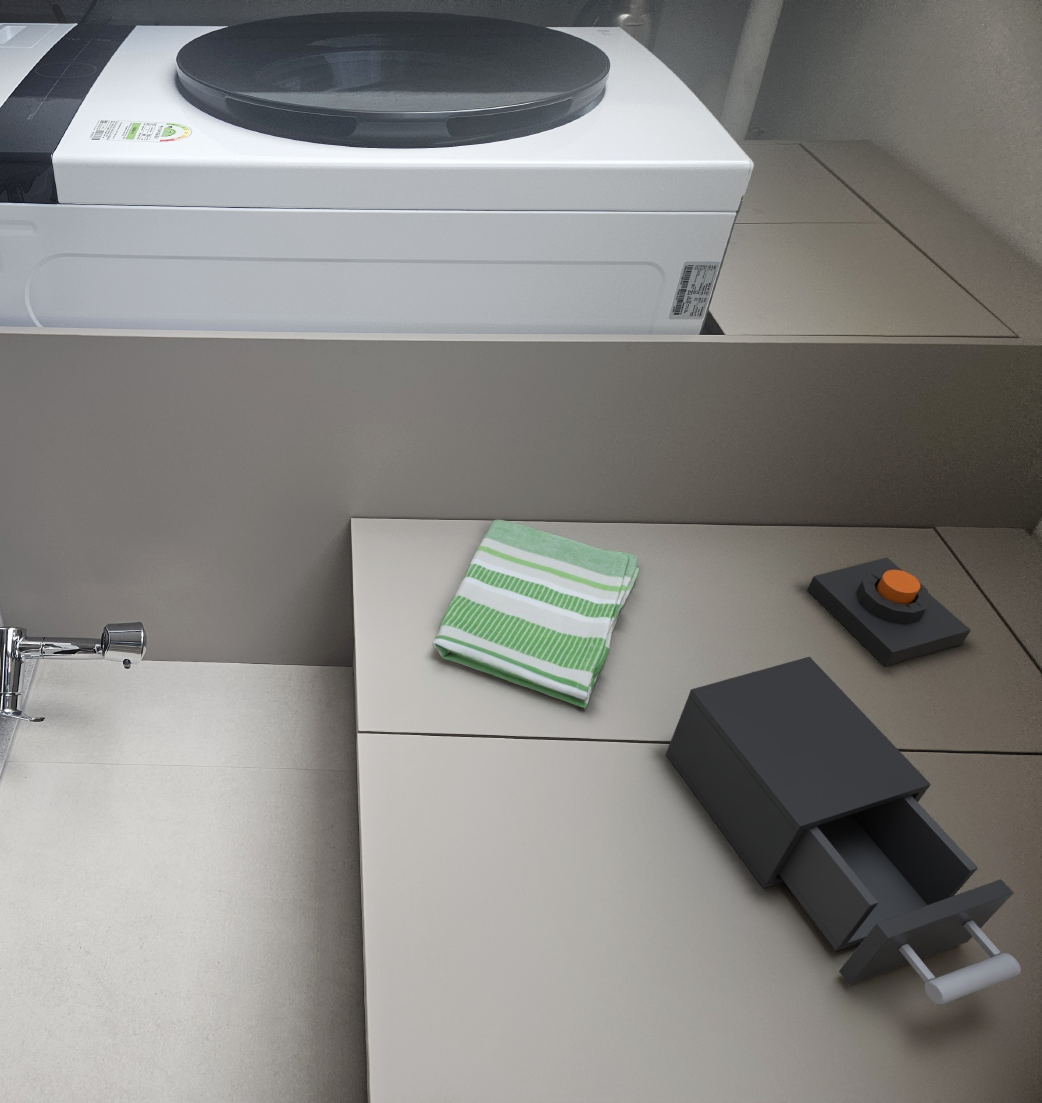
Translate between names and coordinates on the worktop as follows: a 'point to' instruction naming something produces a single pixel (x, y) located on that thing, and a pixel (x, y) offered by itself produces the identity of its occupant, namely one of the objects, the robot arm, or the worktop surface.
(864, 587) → the control block
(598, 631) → the dish towel
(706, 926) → the worktop surface
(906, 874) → the dark grey drawer
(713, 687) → the dark grey drawer box
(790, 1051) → the worktop surface
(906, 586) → the button
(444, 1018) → the worktop surface
